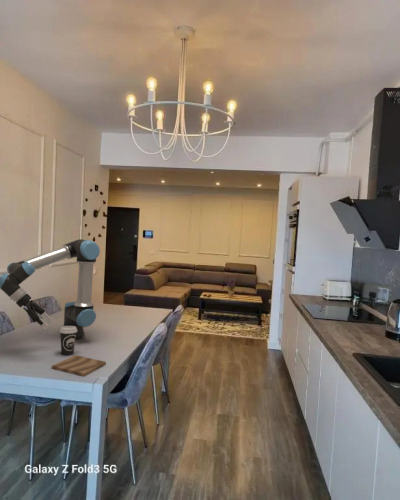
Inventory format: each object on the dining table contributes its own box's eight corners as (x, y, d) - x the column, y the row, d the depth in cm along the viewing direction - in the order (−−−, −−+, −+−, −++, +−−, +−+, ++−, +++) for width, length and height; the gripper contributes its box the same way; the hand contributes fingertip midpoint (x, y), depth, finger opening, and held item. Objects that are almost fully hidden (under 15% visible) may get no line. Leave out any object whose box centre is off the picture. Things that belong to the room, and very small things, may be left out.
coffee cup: (78, 351, 206) (79, 325, 205) (73, 356, 196) (74, 330, 195) (61, 350, 205) (63, 324, 205) (55, 355, 196) (57, 329, 195)
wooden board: (51, 368, 178) (51, 365, 178) (75, 357, 195) (75, 355, 195) (83, 376, 171) (84, 373, 171) (105, 364, 188) (105, 361, 188)
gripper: (20, 298, 204) (47, 323, 208) (9, 307, 180) (39, 335, 184) (31, 289, 205) (57, 314, 210) (21, 297, 181) (50, 326, 186)
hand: (48, 324), depth 197 cm, fingers open, 13 cm apart
